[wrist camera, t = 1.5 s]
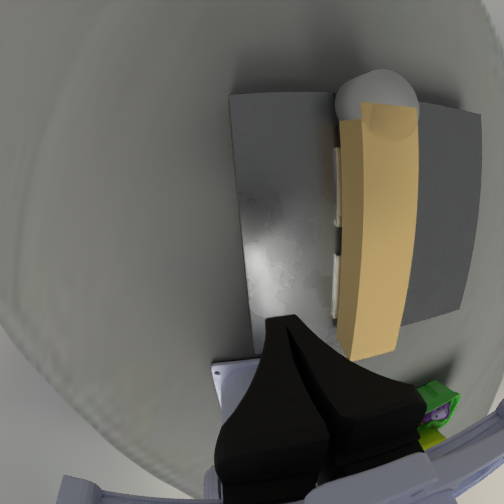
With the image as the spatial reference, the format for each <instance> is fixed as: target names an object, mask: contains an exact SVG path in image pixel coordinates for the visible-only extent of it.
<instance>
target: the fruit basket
mask: <svg viewBox="0 0 504 504" xmlns="http://www.w3.org/2000/svg"><path fill="white" fill-rule="evenodd" d="M417 390H418V391H419V393H420V394H421V396H422V397H423V399H424V400H425V402H426V403H427V411H426V414H425V416H424V418H423V420H422V422H421V424H420V425H419V427H418V429H417V430H418V432H419V434H420V439H419V440H418V441H419V442H420V444H421V446H422V448H423V450H426V449H428V448H430V447H432V446H434V445H437V444H439V443H441V442H443V441H444V440H446V437H444V436H443V435H442V434H441V433H440V432H439V431H438V429H439V428H441V427H443V426H444V425H446V424H447V423H448V422H449V420H450V419H451V416H452V415H453V413H454V411H455V409H456V407H457V404H458V402H459V400H460V397H461V395H460V394H458V393H457V392H453V391H452V390H450V389H449V388H447V387H446V386H444V385H443V384H441V383H440V382H438V381H437V380H433V381H431V382H429V383H427V384H426V385H424V386H421V387H419V388H417Z"/></svg>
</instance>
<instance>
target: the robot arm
mask: <svg viewBox="0 0 504 504" xmlns="http://www.w3.org/2000/svg"><path fill="white" fill-rule="evenodd" d="M265 331H266V333H265V341H264V346H263V351H262V354H261V358H257V359H249V360H240V361H231V362H221V363H214V364H212V365H211V372H212V376H213V380H214V384H215V387H216V391H217V395H218V399H219V403H220V407H221V411H222V427H221V430H220V433H219V436H218V439H217V443H216V447H215V453H214V464H215V465H212V466H211V467H210V469H209V470H208V471H207V472H206V473H205V476H204V499H169V498H155V497H145V496H136V495H129V494H122V493H115V492H109V491H104V490H102V489H101V488H100V487H99V486H98V485H96V484H95V483H93V482H91V481H88V480H85V479H80V478H76V477H72V476H68V475H64V476H63V479H62V482H61V486H60V490H59V494H58V498H57V502H56V504H457V502H456V500H455V498H456V497H458V496H460V495H461V494H463V493H464V492H465V491H467V490H469V489H470V488H471V487H473V486H474V485H476V484H477V483H479V482H480V481H481V480H483V479H484V478H485V477H487V476H488V475H489V474H491V473H492V472H493V471H495V470H496V469H497V468H498V467H500V466H501V465H502V464H503V463H504V399H503V400H502V401H501V402H500V403H499V405H498V407H497V408H496V410H495V411H494V412H492V413H491V414H489V415H488V416H486V417H485V418H483V419H481V420H480V421H478V422H477V423H475V424H473V425H472V426H470V427H468V428H466V429H465V430H463V431H461V432H459V433H458V434H456V435H454V436H452V437H450V438H448V439H446V440H444V441H443V442H441V443H439V444H437V445H434V446H432V447H430V448H428V449H426V450H423V448H422V446H421V444H420V442H419V441H418V440H419V439H420V434H419V432H418V430H417V429H418V427H419V425H420V424H421V422H422V420H423V418H424V416H425V414H426V411H427V403H426V402H425V400H424V399H423V397H422V396H421V394H420V393H419V391H418V390H417V389H416V388H415V386H414V385H411V384H407V383H403V382H399V381H396V380H392V379H389V378H386V377H384V376H381V375H378V374H376V373H374V372H371V371H369V370H367V369H365V368H363V367H361V366H359V365H357V364H355V363H353V362H352V361H350V360H348V359H347V358H345V357H344V356H342V355H341V354H339V353H338V352H336V351H335V350H334V349H333V348H331V347H330V346H329V345H327V344H326V343H325V342H324V341H323V340H322V339H320V338H319V337H318V336H317V335H316V334H315V333H314V332H313V331H312V330H311V329H310V328H309V327H308V326H307V325H306V324H305V323H304V322H303V321H302V320H301V319H300V318H299V317H298V316H297V315H296V314H291V315H284V316H277V317H270V318H267V319H266V320H265ZM216 371H219V372H216Z"/></svg>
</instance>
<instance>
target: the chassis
mask: <svg viewBox="0 0 504 504" xmlns="http://www.w3.org/2000/svg"><path fill="white" fill-rule="evenodd" d="M336 94H337V93H334V92H267V93H249V94H236V95H229V100H228V105H229V116H230V127H231V137H232V148H233V158H234V169H235V179H236V190H237V200H238V210H239V220H240V230H241V240H242V249H243V259H244V269H245V278H246V288H247V297H248V306H249V316H250V325H251V333H252V339H253V346H254V352H255V354H260V353H262V351H263V346H264V341H265V333H266V331H265V320H266V319H267V318H270V317H277V316H284V315H291V314H296V315H297V316H298V317H299V318H300V319H301V320H302V321H303V322H304V323H305V324H306V325H307V326H308V327H309V328H310V329H311V330H312V331H313V332H314V333H315V334H316V335H317V336H318V337H319V338H320V339H322V340H323V341H324V342H325V343H329V342H334V341H338V339H337V337H336V332H337V320H338V308H339V293H340V276H341V251H342V167H341V143H340V126H339V120H338V117H337V115H336V111H335V98H336ZM418 103H419V120H418V147H419V174H418V201H417V217H416V229H415V239H414V248H413V256H412V263H411V271H410V277H409V283H408V289H407V295H406V300H405V306H404V311H403V316H402V320H401V325H400V326H404V325H407V324H411V323H415V322H418V321H422V320H425V319H429V318H432V317H436V316H439V315H442V314H445V313H449V312H452V311H455V310H458V309H459V308H460V305H461V301H462V297H463V293H464V289H465V285H466V281H467V277H468V272H469V268H470V263H471V258H472V252H473V247H474V241H475V234H476V227H477V220H478V211H479V201H480V189H481V170H482V129H481V115H480V114H476V113H472V112H468V111H464V110H460V109H455V108H451V107H446V106H441V105H436V104H431V103H426V102H420V101H418Z"/></svg>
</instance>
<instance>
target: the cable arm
mask: <svg viewBox="0 0 504 504" xmlns="http://www.w3.org/2000/svg"><path fill="white" fill-rule="evenodd" d="M335 111H336V115H337V117H338V120H339V126H340V143H341V167H342V251H341V276H340V293H339V308H338V320H337V332H336V337H337V339H338V341H339V343H340V345H341V347H342V349H343V350H344V352H345V354H346V356H347V358H348V360H350V361H356V360H360V359H364V358H368V357H372V356H376V355H380V354H384V353H387V352H391V351H394V350H395V346H396V342H397V338H398V334H399V329H400V325H401V320H402V316H403V311H404V306H405V300H406V295H407V289H408V283H409V277H410V271H411V263H412V256H413V248H414V239H415V229H416V217H417V201H418V174H419V147H418V120H419V103H418V99H417V96H416V93H415V91H414V90H413V88H412V86H411V85H410V84H409V82H408V81H407V80H406V79H405V78H404V77H403V76H401V75H400V74H398V73H396V72H394V71H392V70H388V69H376V70H373V71H370V72H368V73H365V74H363V75H360V76H357V77H355V78H352V79H350V80H348V81H346V82H345V83H344V84H343V85H342V86H341V87H340V88H339V90H338V92H337V94H336V98H335Z"/></svg>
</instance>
